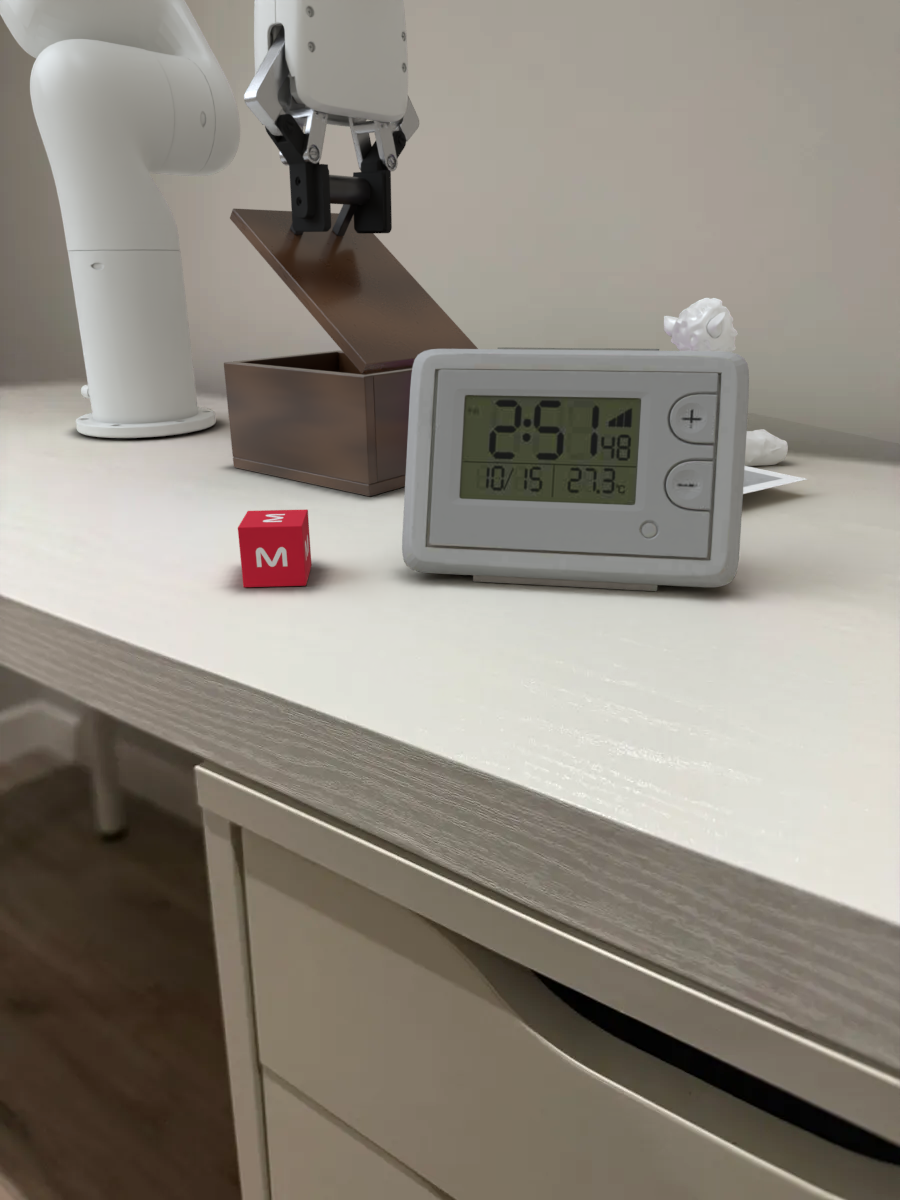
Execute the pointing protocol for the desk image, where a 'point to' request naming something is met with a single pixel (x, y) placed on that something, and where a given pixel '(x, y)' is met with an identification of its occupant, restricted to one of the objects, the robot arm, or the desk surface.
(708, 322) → the seated beast figurine
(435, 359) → the digital clock
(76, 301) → the robot arm
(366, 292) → the lid
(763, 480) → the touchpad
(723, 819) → the desk surface
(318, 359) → the chest
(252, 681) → the desk surface
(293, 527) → the red letter cube
